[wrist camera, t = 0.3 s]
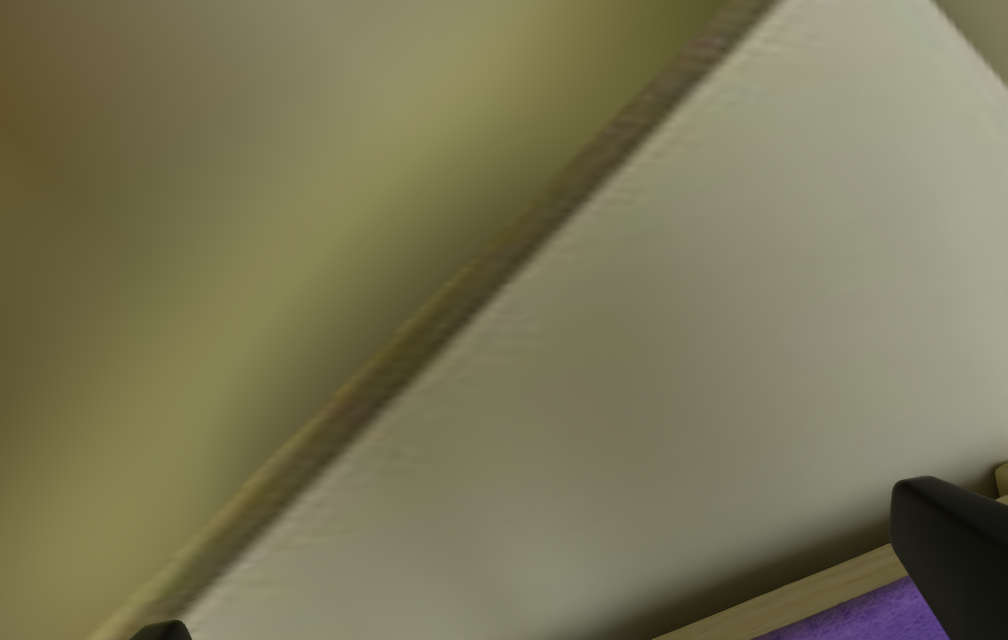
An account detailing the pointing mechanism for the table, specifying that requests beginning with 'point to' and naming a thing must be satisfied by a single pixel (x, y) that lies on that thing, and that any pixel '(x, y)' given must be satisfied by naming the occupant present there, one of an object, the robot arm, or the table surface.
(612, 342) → the table surface
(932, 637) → the toy sofa
